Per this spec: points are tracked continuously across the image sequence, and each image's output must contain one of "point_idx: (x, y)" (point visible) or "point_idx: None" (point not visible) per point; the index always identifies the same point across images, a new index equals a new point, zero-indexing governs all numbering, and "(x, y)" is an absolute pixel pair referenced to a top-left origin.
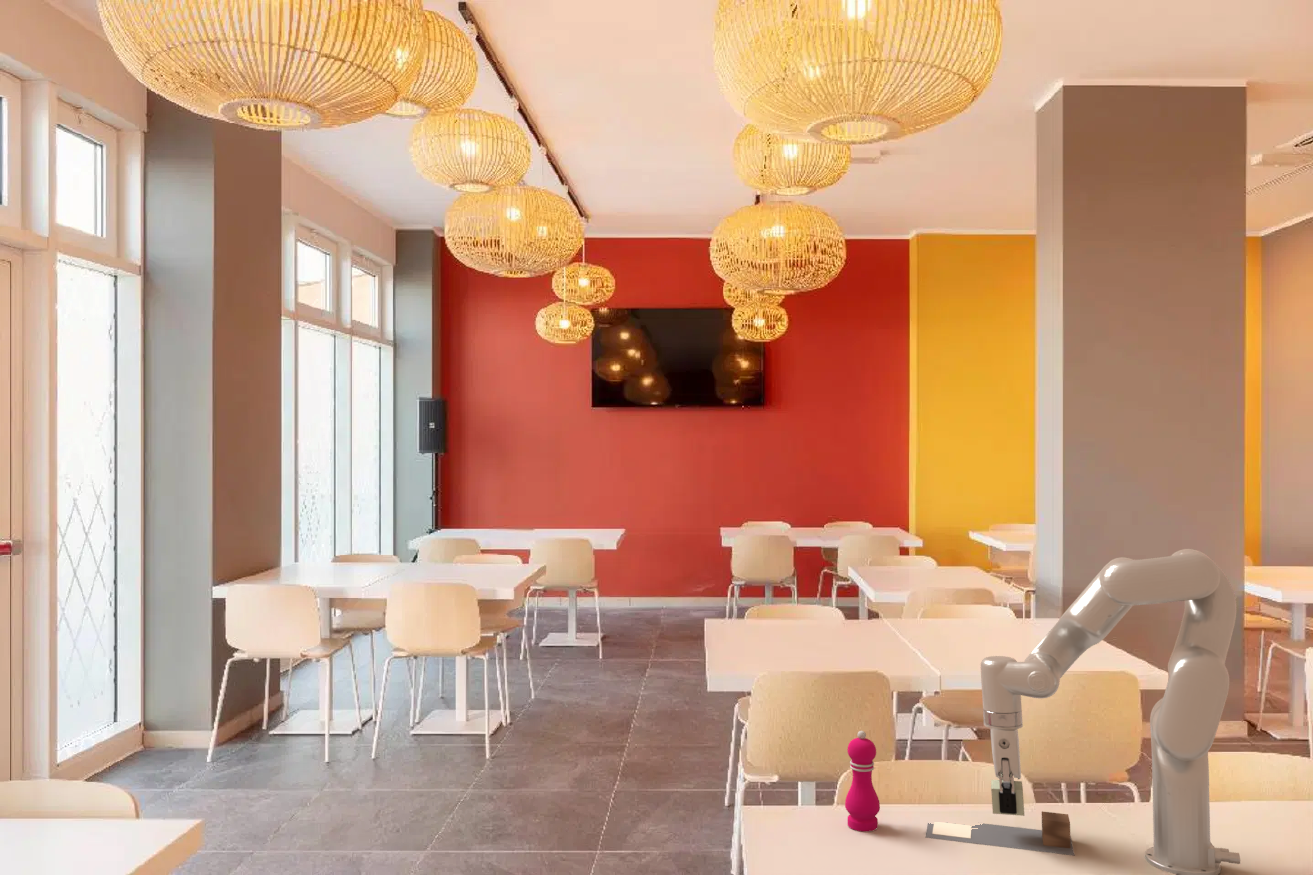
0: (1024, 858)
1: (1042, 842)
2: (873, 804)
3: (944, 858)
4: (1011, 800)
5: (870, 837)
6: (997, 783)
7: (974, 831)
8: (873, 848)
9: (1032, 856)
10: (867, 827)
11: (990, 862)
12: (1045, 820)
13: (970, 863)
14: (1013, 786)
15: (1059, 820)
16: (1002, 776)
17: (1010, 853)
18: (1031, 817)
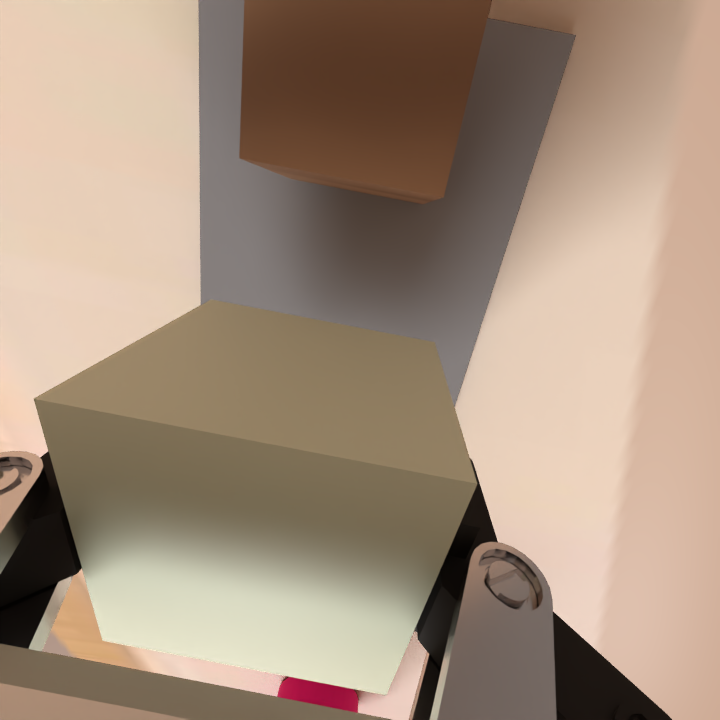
0: (563, 329)
1: (385, 199)
2: None
3: (549, 577)
4: (488, 514)
5: (396, 691)
6: (216, 628)
7: None
8: None
9: (541, 288)
10: (356, 706)
11: (595, 462)
12: (447, 175)
13: (598, 521)
14: (548, 660)
15: (448, 26)
16: (16, 597)
17: (505, 374)
18: (3, 168)
